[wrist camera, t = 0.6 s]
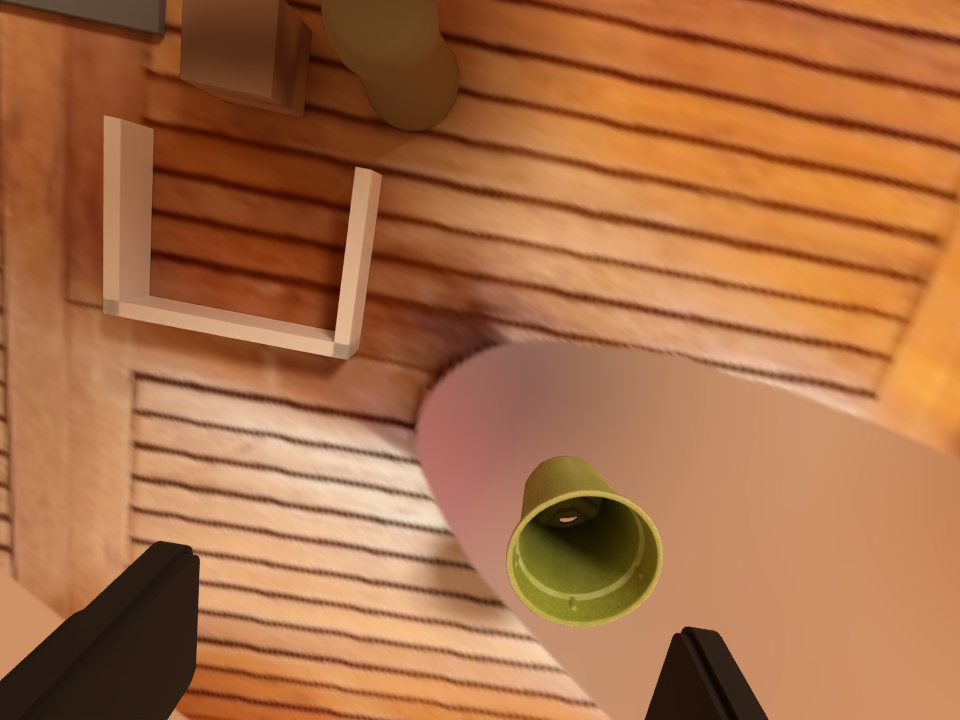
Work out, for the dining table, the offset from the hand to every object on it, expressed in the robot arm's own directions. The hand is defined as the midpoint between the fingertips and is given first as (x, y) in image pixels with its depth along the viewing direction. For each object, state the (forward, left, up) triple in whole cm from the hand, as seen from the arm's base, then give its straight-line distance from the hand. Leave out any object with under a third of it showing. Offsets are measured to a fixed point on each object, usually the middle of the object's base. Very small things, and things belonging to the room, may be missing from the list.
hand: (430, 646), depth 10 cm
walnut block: (-15, -16, -27) cm, 35 cm away
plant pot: (+10, +9, -27) cm, 30 cm away
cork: (-16, -7, -27) cm, 32 cm away
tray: (-5, -16, -27) cm, 31 cm away
